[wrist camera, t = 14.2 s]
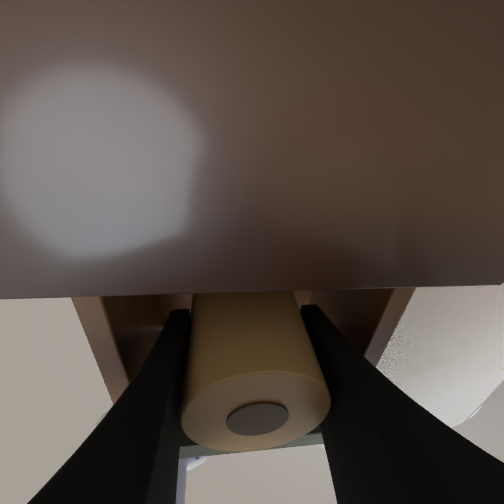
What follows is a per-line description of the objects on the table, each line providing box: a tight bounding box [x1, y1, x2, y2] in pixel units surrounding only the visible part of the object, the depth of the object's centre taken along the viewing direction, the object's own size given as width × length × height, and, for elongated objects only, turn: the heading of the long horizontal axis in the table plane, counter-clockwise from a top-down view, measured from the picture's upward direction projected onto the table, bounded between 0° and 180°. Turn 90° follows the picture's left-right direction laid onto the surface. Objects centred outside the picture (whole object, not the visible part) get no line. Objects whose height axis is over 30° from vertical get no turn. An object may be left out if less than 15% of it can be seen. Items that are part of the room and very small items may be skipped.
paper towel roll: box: [180, 291, 331, 452], centre depth 10 cm, size 4×4×5 cm
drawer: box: [71, 287, 416, 459], centre depth 14 cm, size 16×11×7 cm
